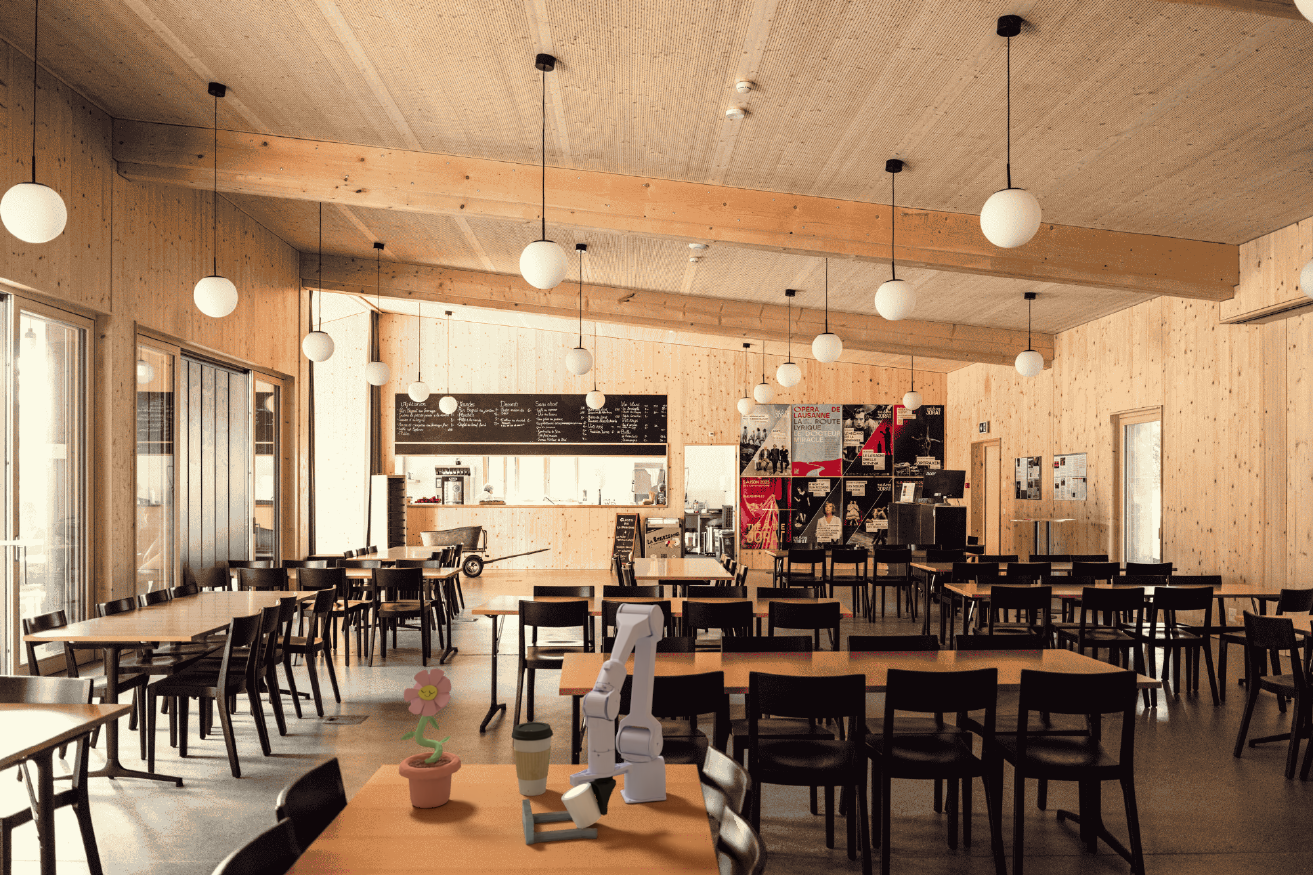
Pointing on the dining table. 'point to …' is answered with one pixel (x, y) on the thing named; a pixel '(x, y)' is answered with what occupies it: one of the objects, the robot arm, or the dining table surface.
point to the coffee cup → (532, 756)
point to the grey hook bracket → (554, 835)
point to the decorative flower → (429, 743)
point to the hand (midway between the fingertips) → (602, 813)
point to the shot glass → (582, 805)
